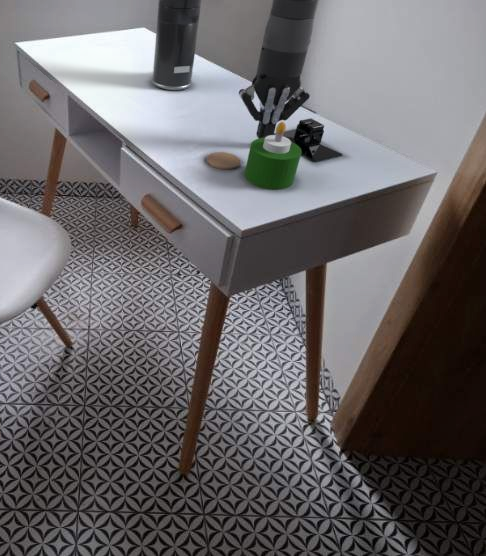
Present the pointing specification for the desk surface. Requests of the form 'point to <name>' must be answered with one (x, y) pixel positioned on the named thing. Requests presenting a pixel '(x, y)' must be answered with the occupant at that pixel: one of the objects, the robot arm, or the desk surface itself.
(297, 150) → the candle
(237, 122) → the desk surface
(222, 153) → the coaster
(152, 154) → the desk surface
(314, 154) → the build plate
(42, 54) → the desk surface
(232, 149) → the desk surface
